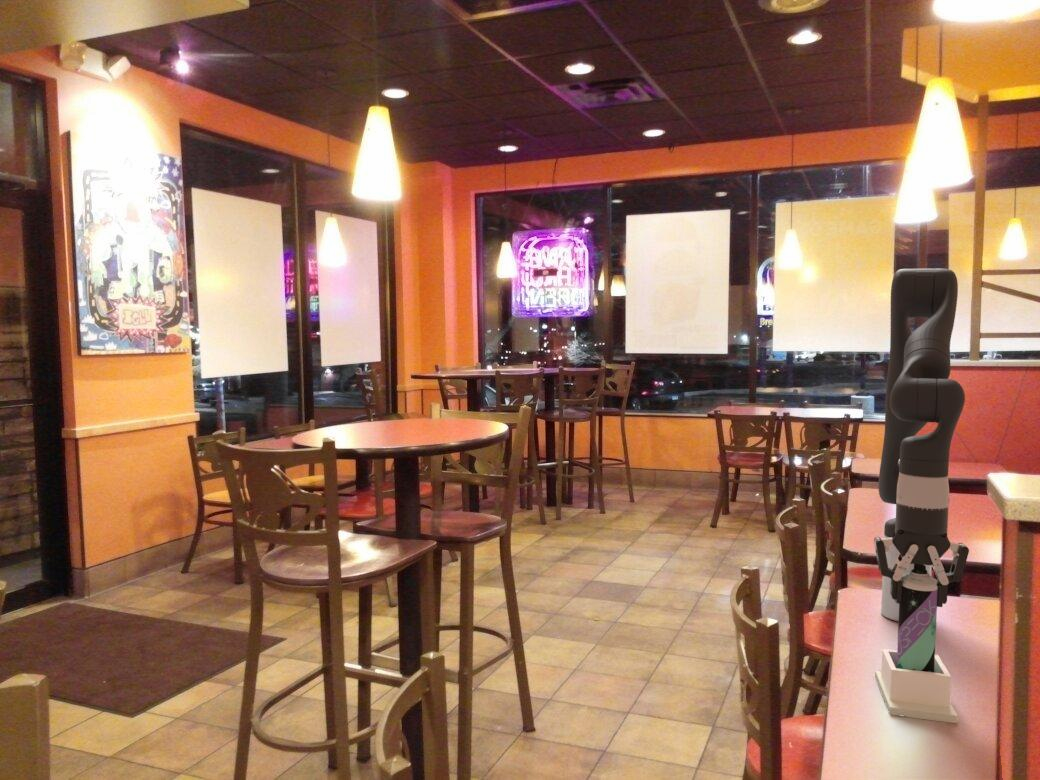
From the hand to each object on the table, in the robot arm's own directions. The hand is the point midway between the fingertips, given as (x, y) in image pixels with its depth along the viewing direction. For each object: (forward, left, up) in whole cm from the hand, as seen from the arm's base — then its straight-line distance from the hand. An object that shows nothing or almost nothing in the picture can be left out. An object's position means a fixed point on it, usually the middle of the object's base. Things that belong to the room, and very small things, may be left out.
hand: (917, 603), depth 127 cm
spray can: (0, 0, -14) cm, 14 cm away
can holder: (0, 0, -16) cm, 16 cm away
